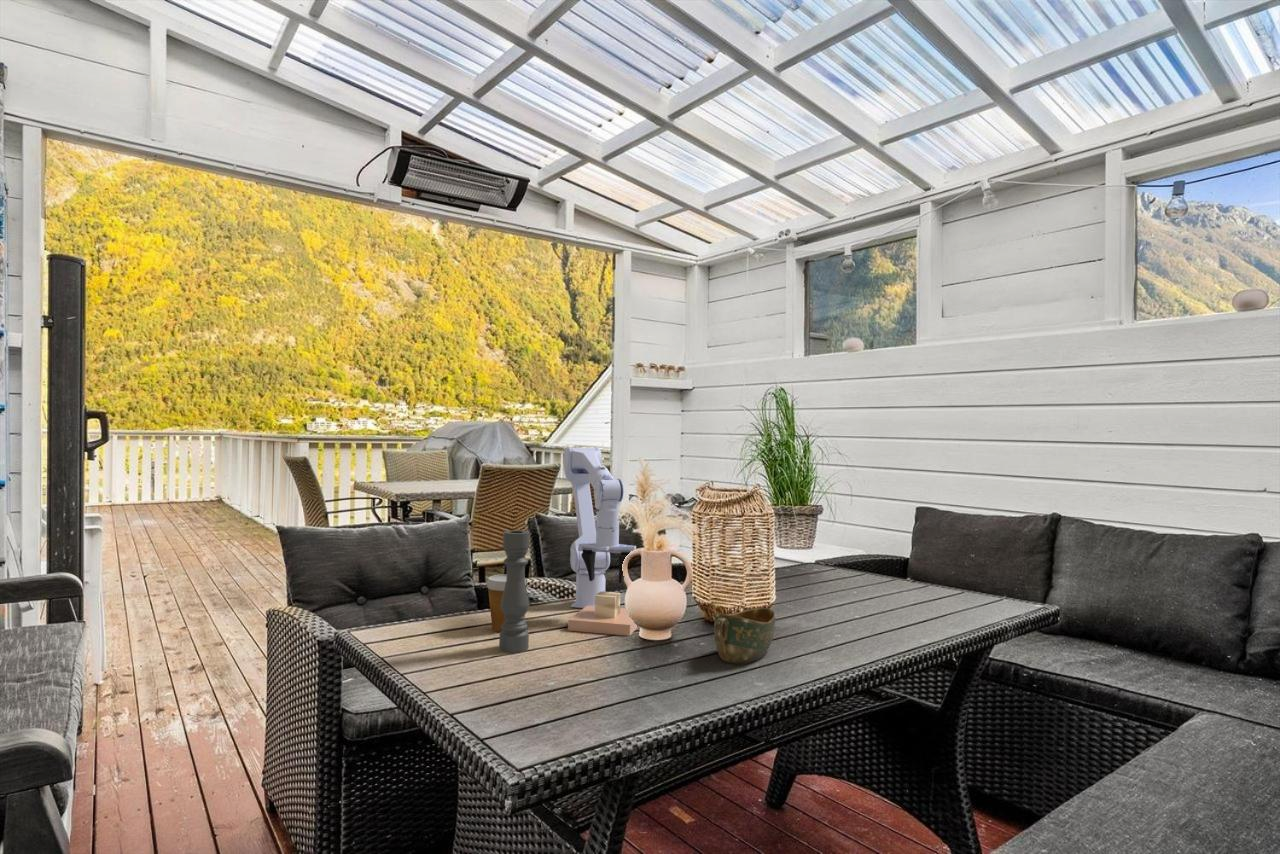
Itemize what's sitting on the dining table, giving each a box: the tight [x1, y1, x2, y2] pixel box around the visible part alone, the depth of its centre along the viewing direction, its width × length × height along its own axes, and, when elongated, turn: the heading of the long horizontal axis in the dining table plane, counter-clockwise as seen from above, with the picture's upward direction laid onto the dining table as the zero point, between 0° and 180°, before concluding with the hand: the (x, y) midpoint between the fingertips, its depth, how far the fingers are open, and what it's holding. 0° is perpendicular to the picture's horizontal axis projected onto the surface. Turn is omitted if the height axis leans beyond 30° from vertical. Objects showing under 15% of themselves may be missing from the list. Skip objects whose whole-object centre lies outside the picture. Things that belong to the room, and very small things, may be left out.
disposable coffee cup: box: [485, 573, 528, 633], centre depth 172 cm, size 10×10×12 cm
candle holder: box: [498, 529, 531, 654], centre depth 157 cm, size 6×6×25 cm
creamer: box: [713, 607, 776, 665], centre depth 156 cm, size 13×20×10 cm, turn 116°
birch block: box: [595, 591, 621, 618], centre depth 178 cm, size 5×5×5 cm
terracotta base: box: [567, 605, 638, 637], centre depth 178 cm, size 15×15×2 cm
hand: (606, 581), depth 184 cm, fingers open, 7 cm apart
